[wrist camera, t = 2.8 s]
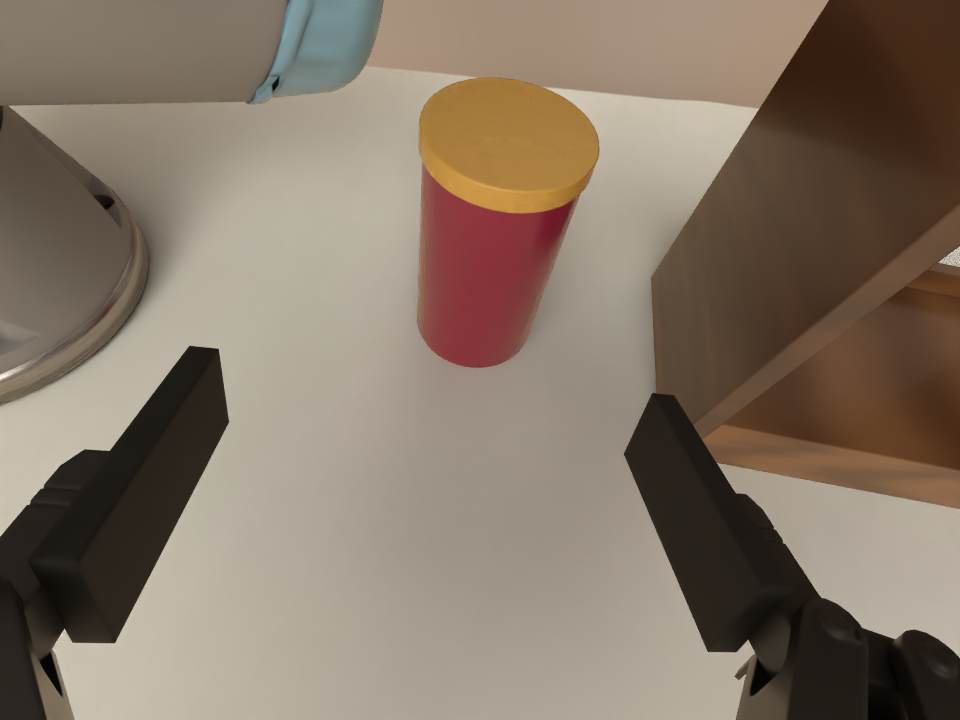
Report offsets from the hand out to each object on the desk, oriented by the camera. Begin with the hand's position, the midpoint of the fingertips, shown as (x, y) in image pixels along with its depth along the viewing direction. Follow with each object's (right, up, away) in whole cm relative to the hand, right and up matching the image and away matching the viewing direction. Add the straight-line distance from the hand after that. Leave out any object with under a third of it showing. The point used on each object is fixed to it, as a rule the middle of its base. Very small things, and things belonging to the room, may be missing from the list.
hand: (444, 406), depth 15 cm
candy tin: (+1, +4, +13) cm, 14 cm away
